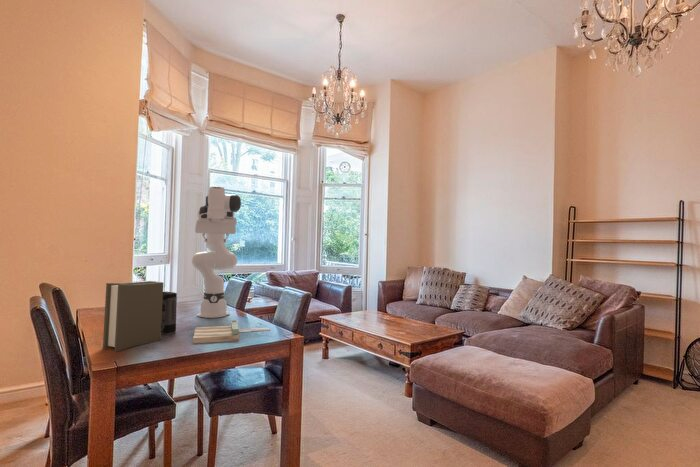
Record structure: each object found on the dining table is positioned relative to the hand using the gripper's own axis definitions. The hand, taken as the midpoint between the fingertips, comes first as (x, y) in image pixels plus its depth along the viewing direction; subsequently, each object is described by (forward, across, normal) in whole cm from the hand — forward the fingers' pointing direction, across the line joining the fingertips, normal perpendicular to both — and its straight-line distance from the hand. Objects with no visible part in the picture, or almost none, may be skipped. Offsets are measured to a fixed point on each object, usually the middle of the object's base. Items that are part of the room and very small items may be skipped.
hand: (215, 242), depth 201 cm
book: (+46, +33, +20) cm, 60 cm away
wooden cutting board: (+46, -10, +15) cm, 49 cm away
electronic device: (+46, +22, +2) cm, 51 cm away
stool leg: (+43, -10, +16) cm, 47 cm away
